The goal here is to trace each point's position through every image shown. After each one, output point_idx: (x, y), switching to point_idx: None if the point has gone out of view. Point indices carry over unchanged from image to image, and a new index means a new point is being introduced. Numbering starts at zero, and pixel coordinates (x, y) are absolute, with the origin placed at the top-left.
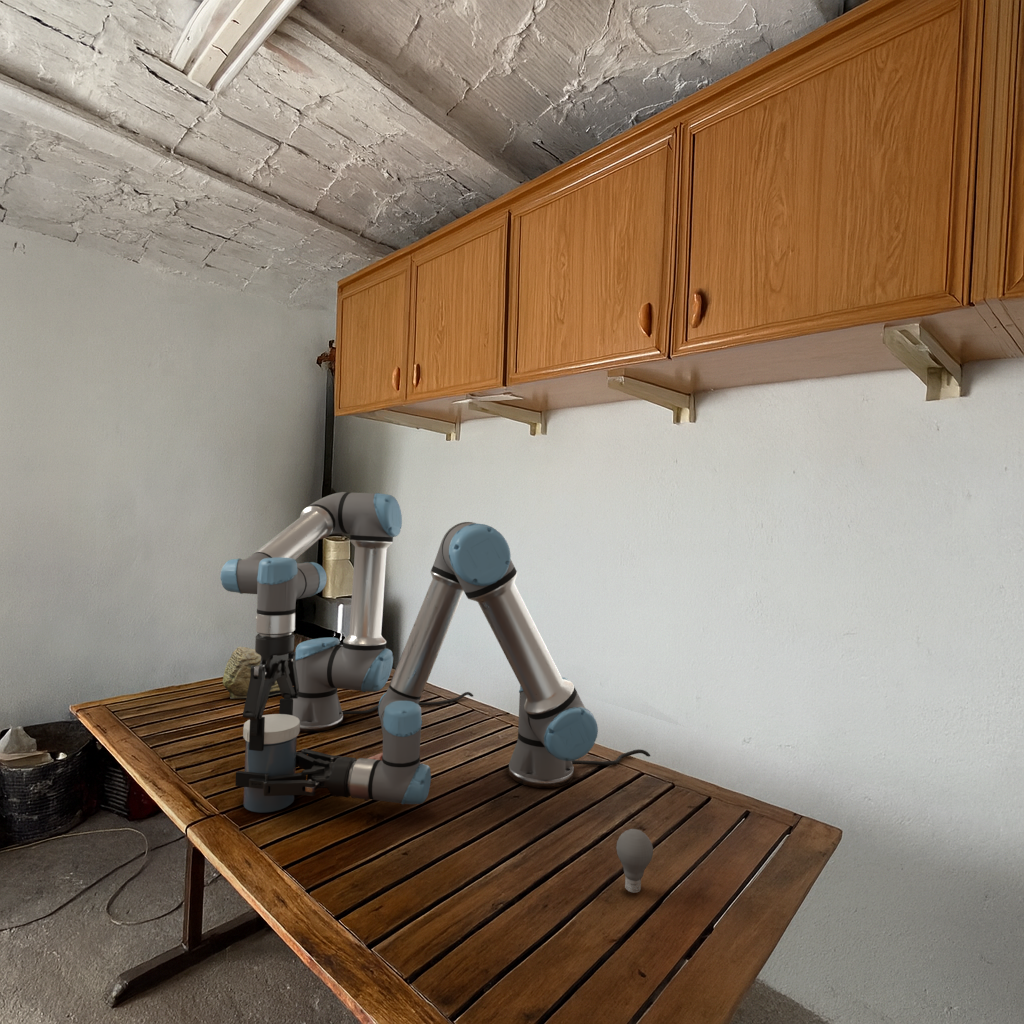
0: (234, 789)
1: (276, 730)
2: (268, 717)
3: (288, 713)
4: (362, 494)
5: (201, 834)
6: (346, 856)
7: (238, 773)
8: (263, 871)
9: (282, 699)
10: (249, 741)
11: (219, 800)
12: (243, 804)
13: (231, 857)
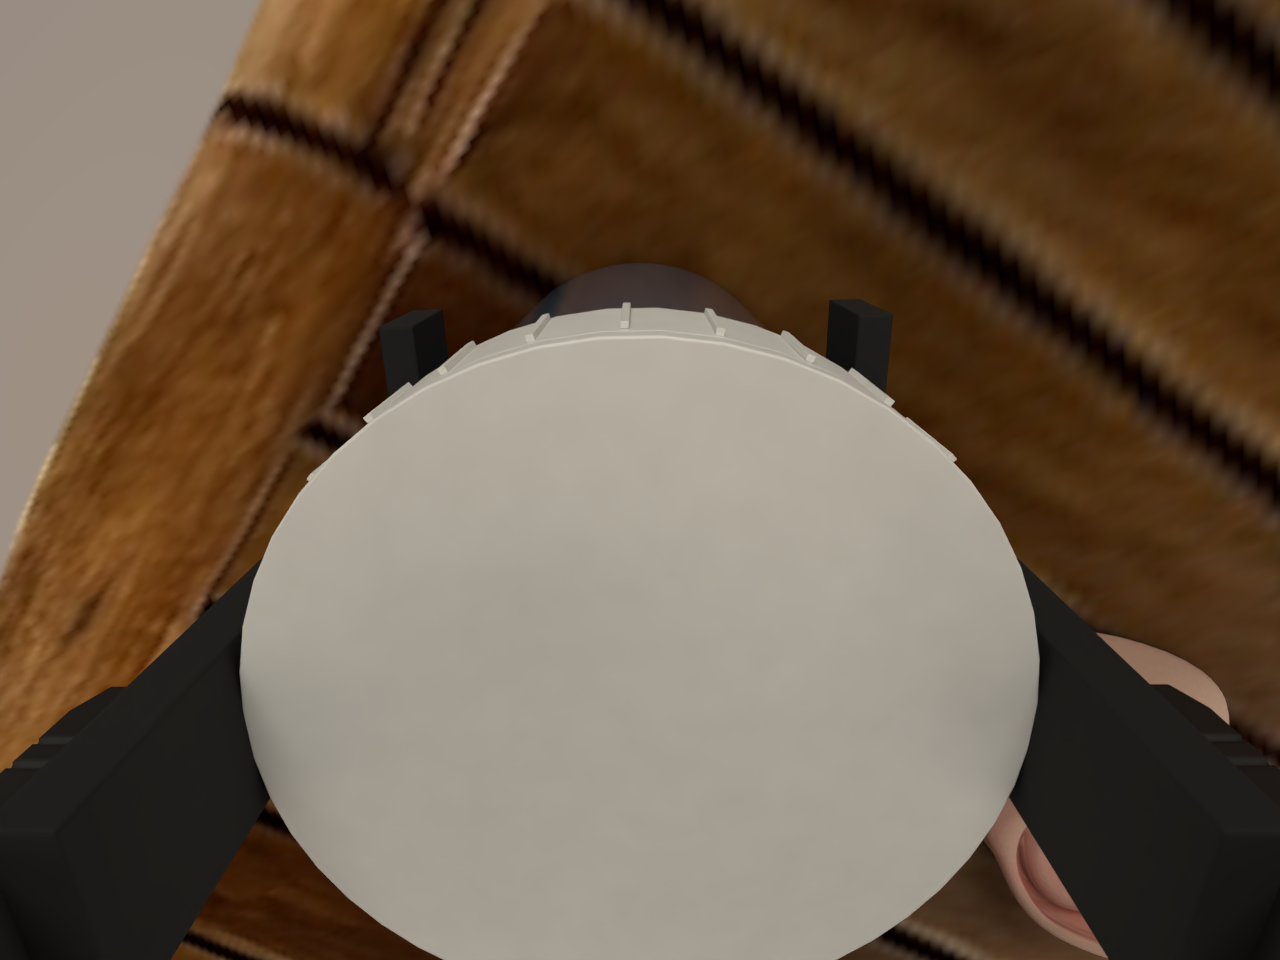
0: (742, 95)
1: (392, 895)
2: (850, 580)
3: (1028, 788)
4: None
5: (178, 252)
6: (296, 916)
7: (384, 351)
8: (65, 700)
9: (1217, 879)
10: (238, 585)
11: (569, 90)
12: (550, 292)
13: (81, 527)
